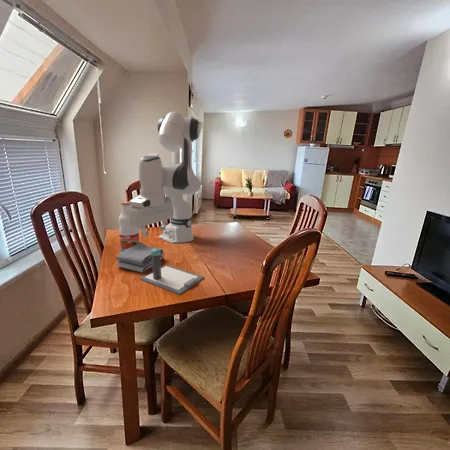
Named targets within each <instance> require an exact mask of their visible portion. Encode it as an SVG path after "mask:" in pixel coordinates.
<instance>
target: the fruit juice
mask: <svg viewBox="0 0 450 450" xmlns="http://www.w3.org/2000/svg"><path fill="white" fill-rule="evenodd" d="M129 202H130V201H121V212H120V215H119V216H118V224H119V229H118V231H119V241H120V253H121V252H123V251H125V250H127V249H128V248H131V247H133V246H135V245H137V244H138V243H140V242H141V241H140V228H136V227H132V226H131V225H130V218H129V212H130V208H131V207H132V206H130V204H129Z"/></svg>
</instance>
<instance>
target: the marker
mask: <svg viewBox="0 0 450 450" xmlns="http://www.w3.org/2000/svg"><path fill="white" fill-rule="evenodd" d="M153 248H154V249H152V250H151V255H152V267H151V268H152V272H153V279H154V280H159V279H161V278H162V277H161V267H162V266H161V265H162V264H161V262H162V261H161V260H160V249H161V248H158V247H153Z"/></svg>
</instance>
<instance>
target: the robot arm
mask: <svg viewBox="0 0 450 450" xmlns="http://www.w3.org/2000/svg"><path fill="white" fill-rule="evenodd" d="M201 130H202V129H201V124H200V121H199V120H198V119H197V118H193V117H192V118H189V117H184V116H183V115H182V114H181V112H179V111H170V112H168V113H167V114H166V115H164V116H161V117H160V118H159V119H158V121H157V131H158V140H159V142H160V145H161V146H162V147H163V148H165V149H166V150H168V151H169V152H171V164H164V163H163V164H162V159H161V157H160V156H158V155H145V156H143V157H141V158H140V159H139V162H138V163H139V164H138V181H139V183H140V190H139V194H138V195H137V196H136V197H133V198H132V199H130V200H129V201H128V202H129V204H130V206H132V207H131V208H130V212H129V218H130V225H131V226H132V227H136V228H138V229H139V231H141V235H142V237H147V236H149V231H148V230H146V229H147V228H146V227H147V226H148V225H152V224H155V223H159V222H161V225H159V228H160V231H162V233H161V234H160V235H159V236H158V238H159V239H161V238H162V239H161V240H164V241H166V242H168V243H172V244H177V243H180V244H181V243H188V242H192V241H193V240H194V239H195V238H194V233H193V228H192V224H193V219H192V212H191V211H192V208H191V207H192V205H191V203H189V202H188V201H187V200H184V197H183V195H191V194H196V193H198V192H199V191H200V190H201V187H202V182H201V180H200V179H199V177H197V175H196V174H195V172H194V169H193V165H192V160H193V159H192V158H193V157H192V155H193V154H192V153H193V152H192V151H193V150H192V146H193V145H192V143H193V142H194V141H196V140H198V139H199V137H200V136H201V135H200V134H201ZM168 220H169V221H170V222H169V223H168ZM167 223H168V224H167Z"/></svg>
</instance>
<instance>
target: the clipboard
mask: <svg viewBox="0 0 450 450" xmlns="http://www.w3.org/2000/svg"><path fill="white" fill-rule="evenodd" d="M161 277H162V278H161V279H159V280H154V279H153V271H152V272H149V273H148V274H146V275H143V276H142V277H140V278H139V281H140V280H141V281H143V282H145V283H148V284H151V285H153V286H156V287H158V288H161V289H164V290H166V291H169V292H172V293H173V294H176V295H182V294H183V293H185V292H187V291H188V290H189V289H190V288H192V287H194V286H195V285H196V284H199V282H200V281H202V280H203V279H205V276H204V275H203V276H202V275H200V274H196V273H194V272H190V271H187V270H184V269H181V268H178V267H174V266H173V265H168V264H165V265H164V266H161Z"/></svg>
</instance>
